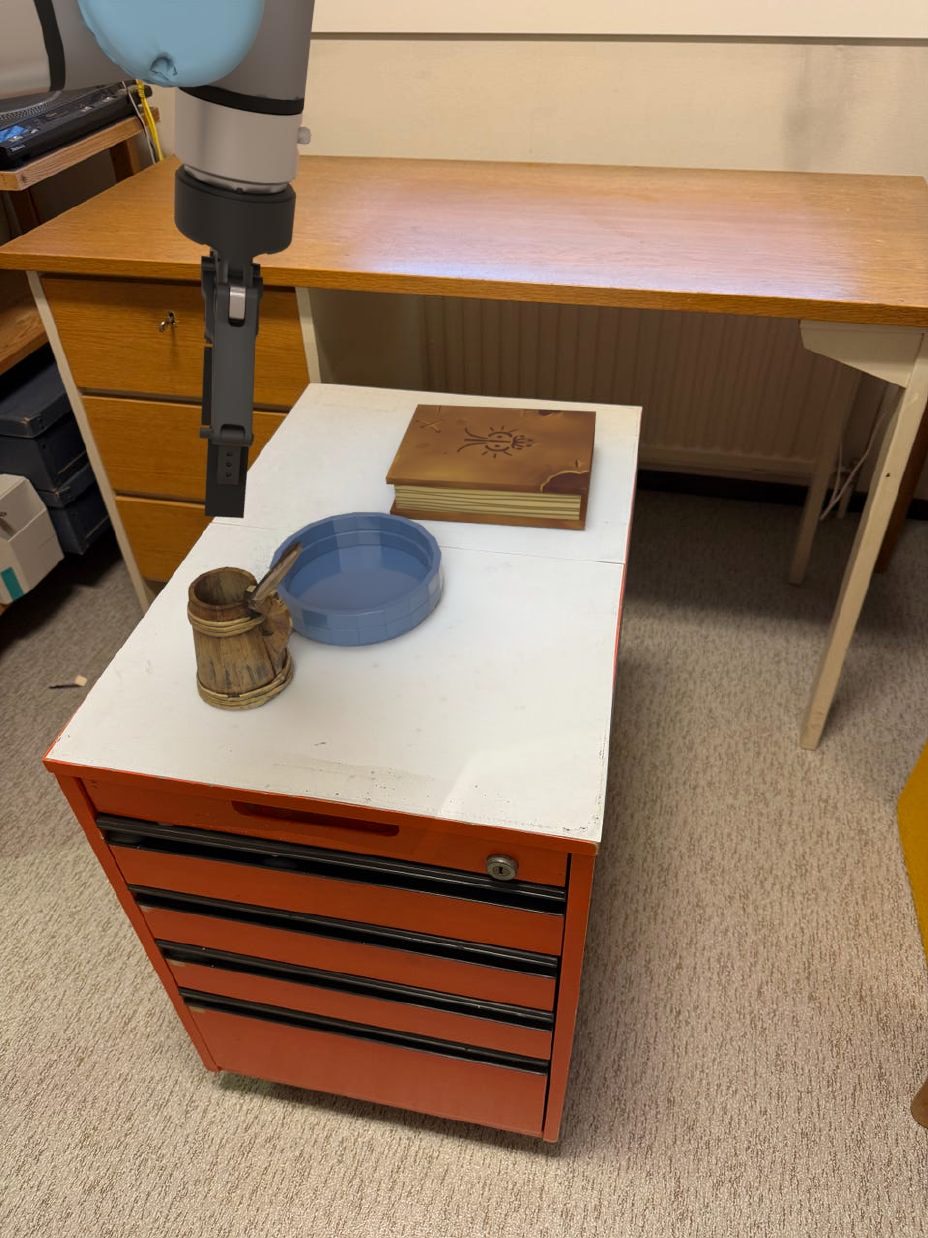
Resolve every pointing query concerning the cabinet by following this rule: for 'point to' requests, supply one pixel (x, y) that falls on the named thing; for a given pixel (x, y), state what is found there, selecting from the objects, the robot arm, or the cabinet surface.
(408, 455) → the diary
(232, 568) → the wooden mug
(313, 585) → the bowl
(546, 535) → the cabinet surface
